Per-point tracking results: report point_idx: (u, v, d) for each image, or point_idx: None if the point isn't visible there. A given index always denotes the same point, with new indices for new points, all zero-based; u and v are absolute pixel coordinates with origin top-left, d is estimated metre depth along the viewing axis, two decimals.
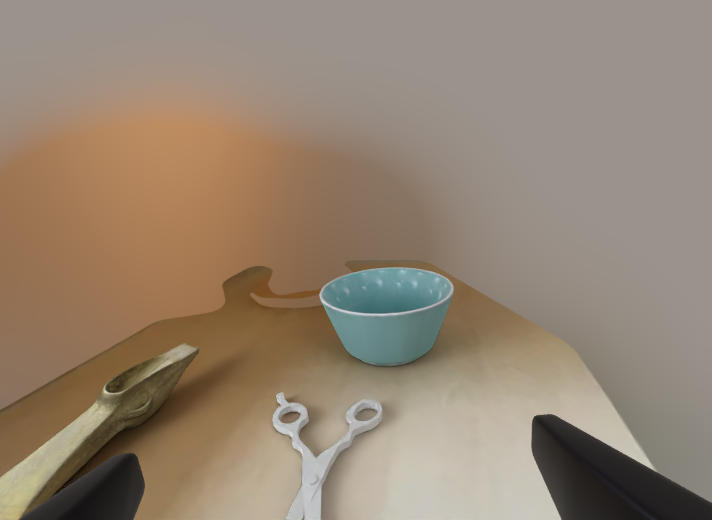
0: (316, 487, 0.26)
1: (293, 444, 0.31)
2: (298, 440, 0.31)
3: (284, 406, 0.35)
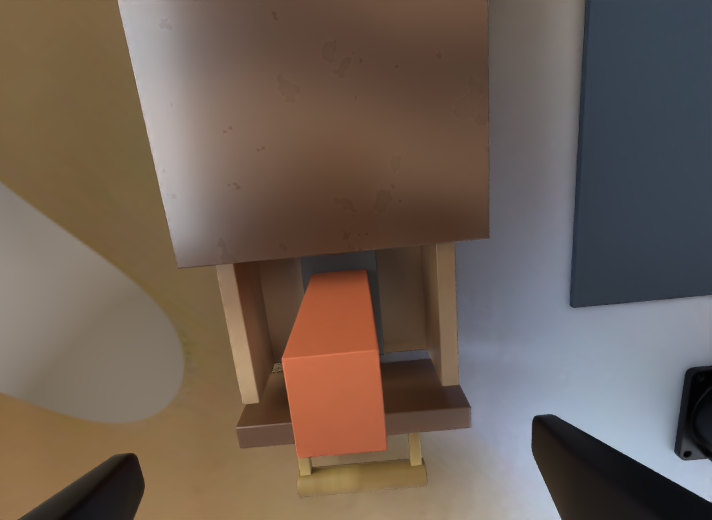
0: None
1: None
2: None
3: None
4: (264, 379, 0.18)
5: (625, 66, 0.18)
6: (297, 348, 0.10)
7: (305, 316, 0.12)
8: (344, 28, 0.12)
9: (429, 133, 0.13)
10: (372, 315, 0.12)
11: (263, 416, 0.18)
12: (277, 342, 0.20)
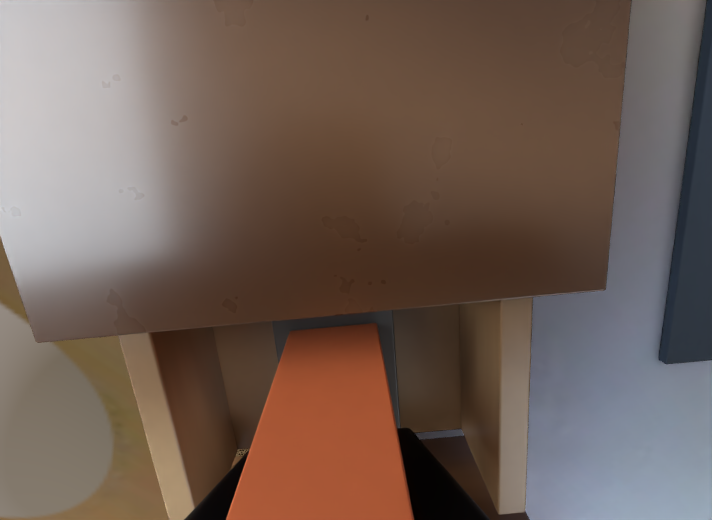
0: None
1: None
2: None
3: None
4: None
5: None
6: None
7: (261, 469, 0.06)
8: None
9: (509, 93, 0.07)
10: (403, 478, 0.06)
11: None
12: (241, 420, 0.14)
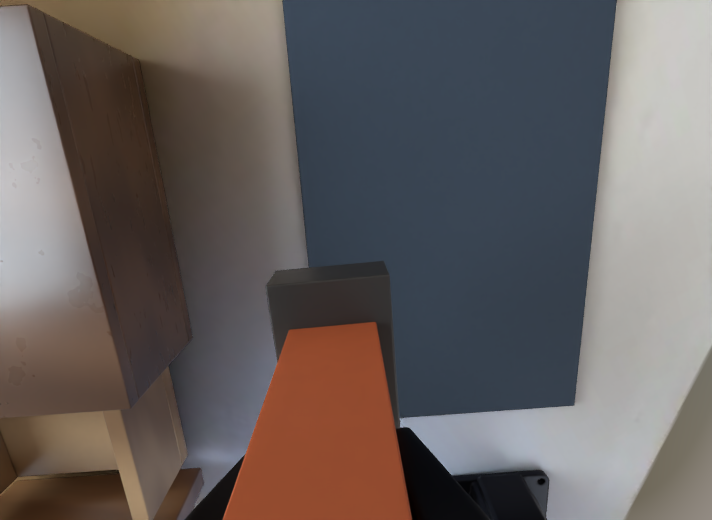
0: None
1: None
2: None
3: None
4: None
5: (340, 210, 0.19)
6: None
7: (258, 467, 0.06)
8: None
9: (48, 319, 0.14)
10: (401, 476, 0.05)
11: None
12: (17, 458, 0.20)
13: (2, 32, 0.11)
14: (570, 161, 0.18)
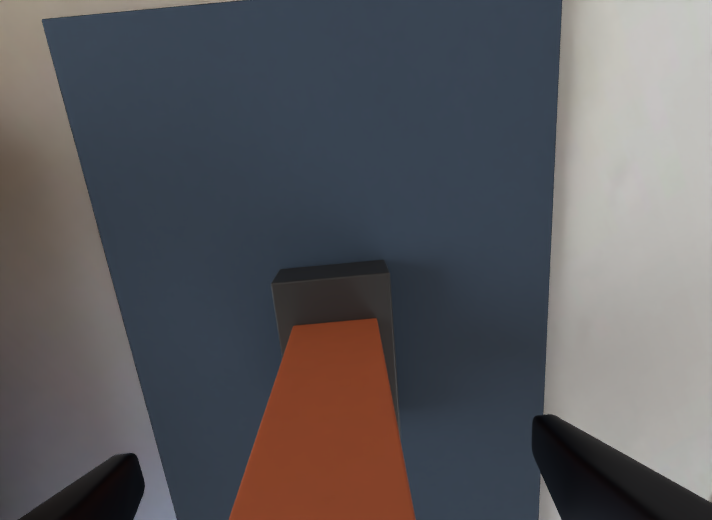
0: None
1: None
2: None
3: None
4: None
5: (177, 318, 0.13)
6: None
7: (268, 450, 0.06)
8: None
9: None
10: (401, 458, 0.06)
11: None
12: None
13: None
14: (507, 240, 0.12)
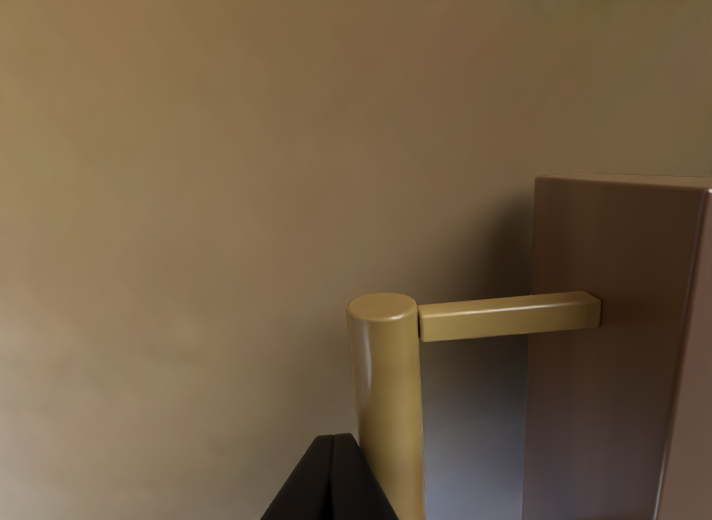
0: None
1: None
2: None
3: None
4: None
5: None
6: None
7: None
8: None
9: None
10: None
11: None
12: None
13: None
14: None
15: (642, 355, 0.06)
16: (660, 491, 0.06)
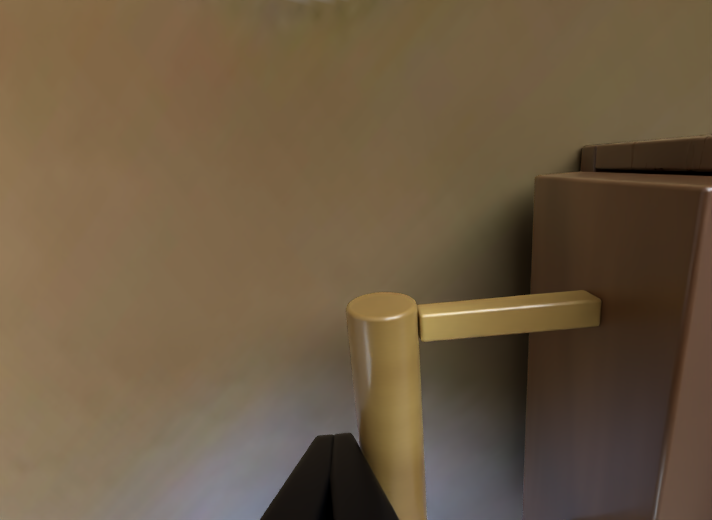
0: None
1: None
2: None
3: None
4: None
5: None
6: None
7: None
8: None
9: None
10: None
11: None
12: None
13: None
14: None
15: (642, 353, 0.06)
16: (661, 490, 0.06)
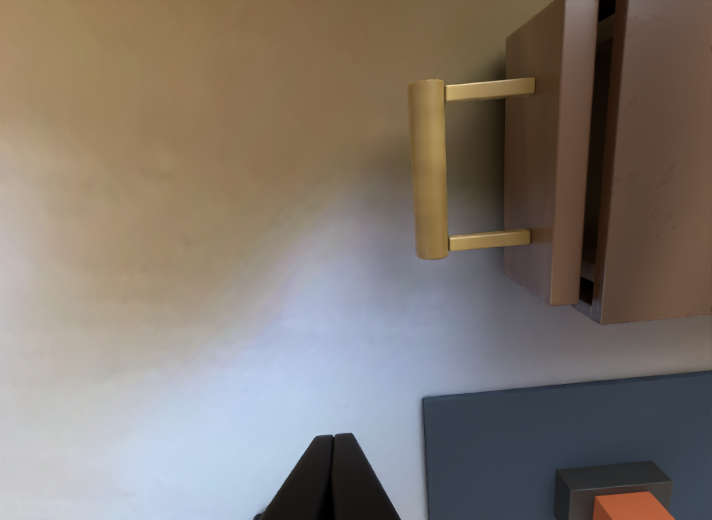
0: None
1: None
2: None
3: None
4: None
5: (635, 409, 0.22)
6: None
7: None
8: None
9: None
10: None
11: None
12: (597, 64, 0.16)
13: None
14: None
15: (549, 87, 0.13)
16: (558, 148, 0.13)
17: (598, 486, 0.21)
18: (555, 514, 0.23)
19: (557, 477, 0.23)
